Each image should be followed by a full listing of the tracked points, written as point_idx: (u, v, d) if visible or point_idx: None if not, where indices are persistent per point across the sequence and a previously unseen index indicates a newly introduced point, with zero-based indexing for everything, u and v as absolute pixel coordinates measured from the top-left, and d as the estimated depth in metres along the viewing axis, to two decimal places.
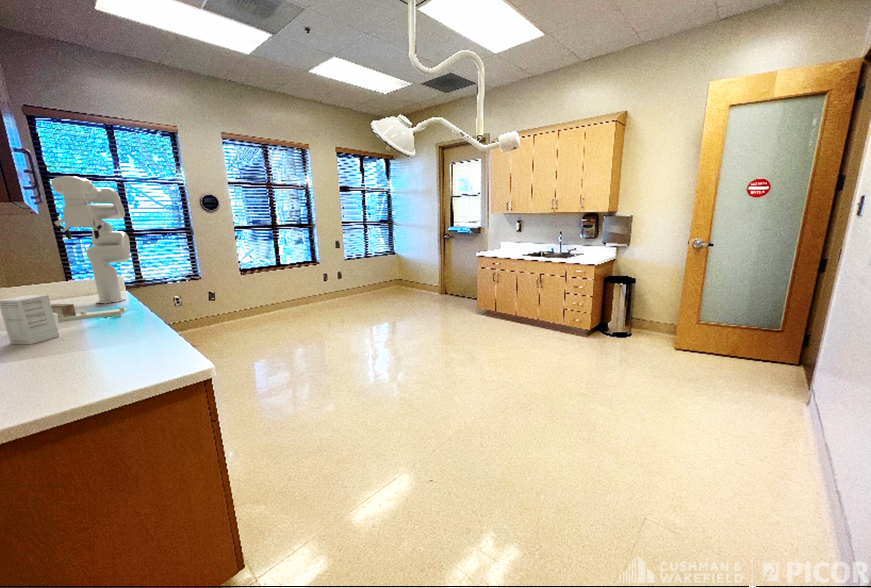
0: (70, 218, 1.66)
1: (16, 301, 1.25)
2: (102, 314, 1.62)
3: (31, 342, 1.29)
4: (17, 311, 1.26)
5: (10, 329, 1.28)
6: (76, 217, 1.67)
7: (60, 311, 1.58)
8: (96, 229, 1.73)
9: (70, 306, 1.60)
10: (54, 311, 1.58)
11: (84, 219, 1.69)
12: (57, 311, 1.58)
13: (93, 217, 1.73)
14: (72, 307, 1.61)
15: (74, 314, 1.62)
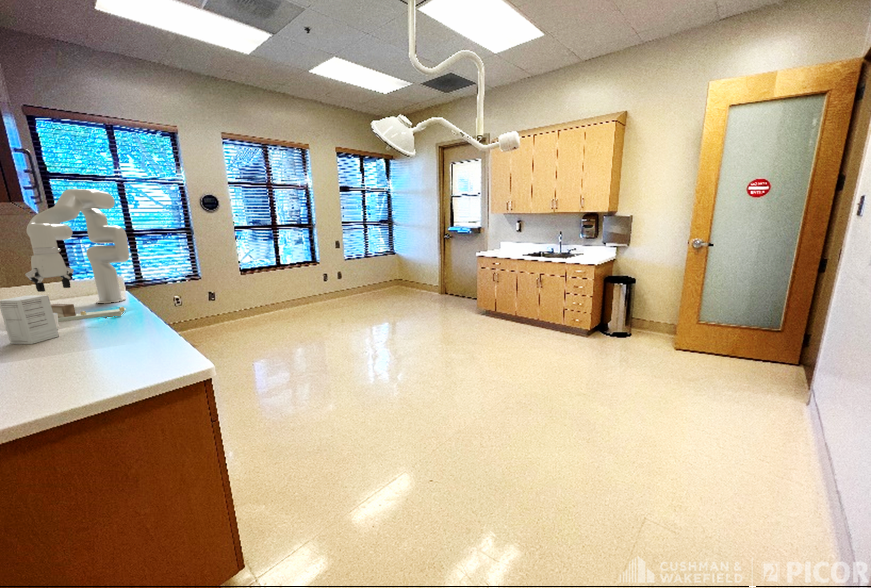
0: (47, 268, 1.53)
1: (16, 301, 1.25)
2: (102, 314, 1.62)
3: (31, 342, 1.29)
4: (17, 311, 1.26)
5: (10, 329, 1.28)
6: (52, 267, 1.55)
7: (60, 311, 1.58)
8: (68, 278, 1.62)
9: (70, 306, 1.60)
10: (54, 311, 1.58)
11: (60, 268, 1.58)
12: (57, 311, 1.58)
13: None
14: (72, 307, 1.61)
15: (74, 314, 1.62)
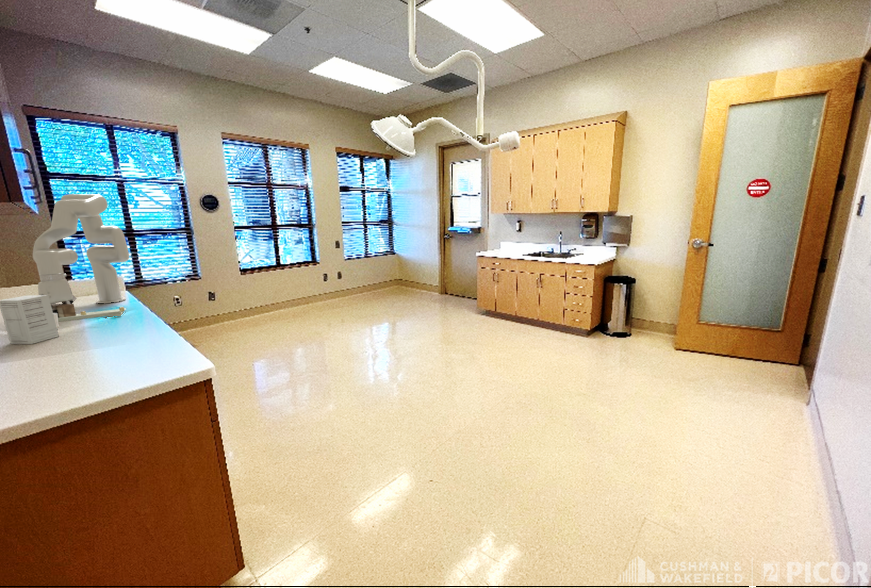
0: (53, 294, 1.56)
1: (16, 301, 1.25)
2: (102, 314, 1.62)
3: (31, 342, 1.29)
4: (17, 311, 1.26)
5: (10, 329, 1.28)
6: (59, 292, 1.58)
7: (60, 311, 1.58)
8: None
9: (70, 306, 1.60)
10: None
11: (66, 293, 1.61)
12: None
13: None
14: (72, 307, 1.61)
15: (74, 314, 1.62)
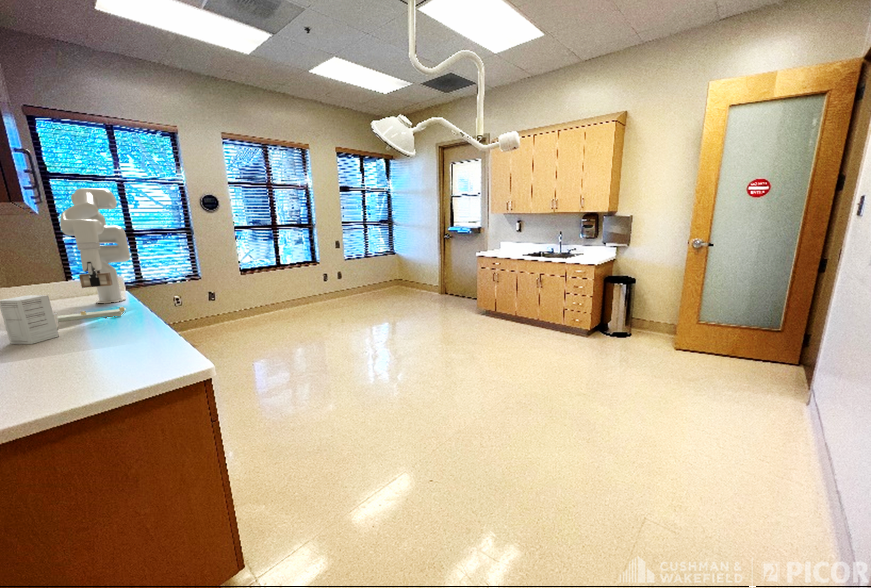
0: (97, 262, 1.62)
1: (16, 301, 1.25)
2: (102, 314, 1.62)
3: (31, 342, 1.29)
4: (17, 311, 1.26)
5: (10, 329, 1.28)
6: (98, 260, 1.63)
7: (102, 279, 1.64)
8: None
9: (109, 274, 1.67)
10: None
11: (100, 262, 1.66)
12: None
13: None
14: (110, 275, 1.68)
15: (111, 282, 1.69)
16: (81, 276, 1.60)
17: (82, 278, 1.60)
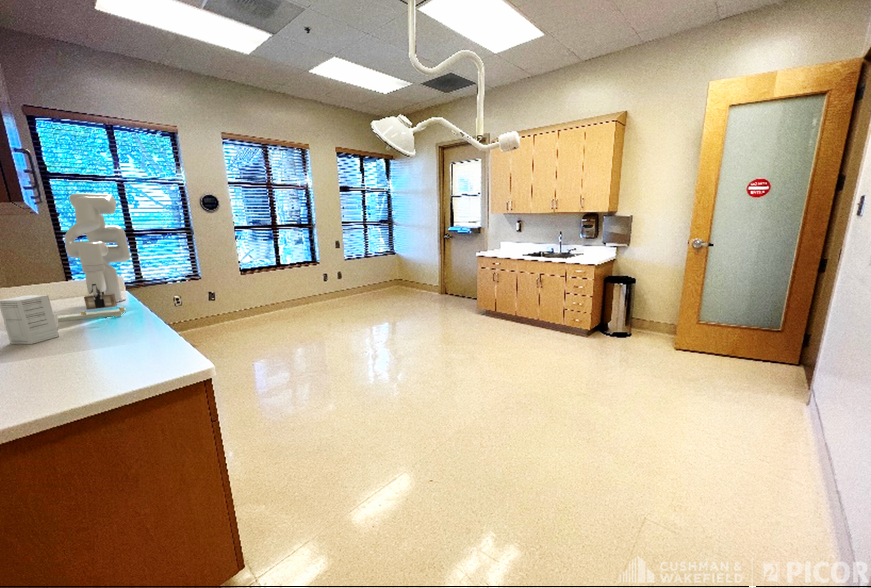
0: (102, 284, 1.64)
1: (16, 301, 1.25)
2: (102, 314, 1.62)
3: (31, 342, 1.29)
4: (17, 311, 1.26)
5: (10, 329, 1.28)
6: (103, 282, 1.65)
7: (107, 300, 1.66)
8: None
9: (114, 295, 1.69)
10: None
11: (104, 283, 1.68)
12: None
13: None
14: (114, 296, 1.70)
15: None
16: (86, 298, 1.62)
17: (87, 300, 1.62)
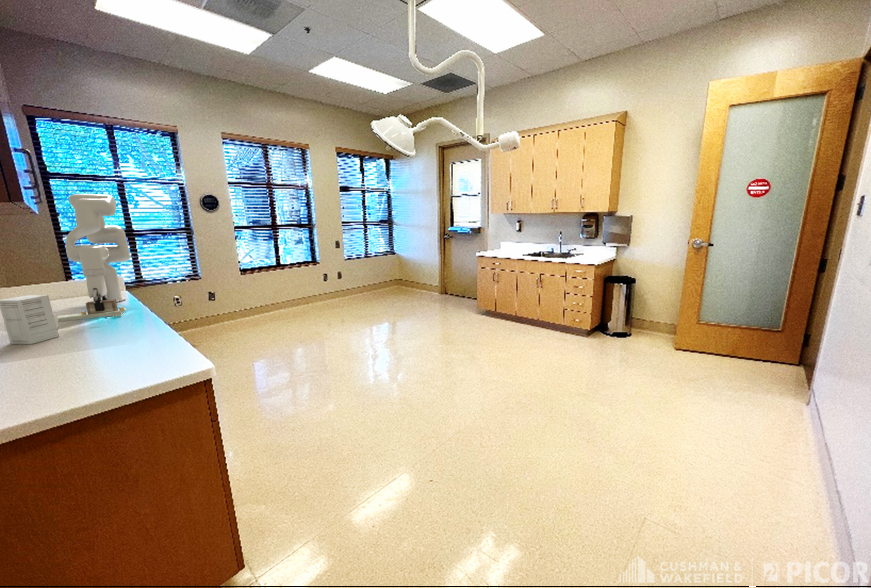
0: (103, 288, 1.64)
1: (16, 301, 1.25)
2: (102, 314, 1.62)
3: (31, 342, 1.29)
4: (17, 311, 1.26)
5: (10, 329, 1.28)
6: (104, 286, 1.66)
7: (108, 306, 1.67)
8: (106, 298, 1.71)
9: (115, 301, 1.70)
10: None
11: (105, 287, 1.68)
12: (104, 306, 1.66)
13: None
14: None
15: (117, 308, 1.71)
16: (88, 304, 1.63)
17: (88, 306, 1.63)
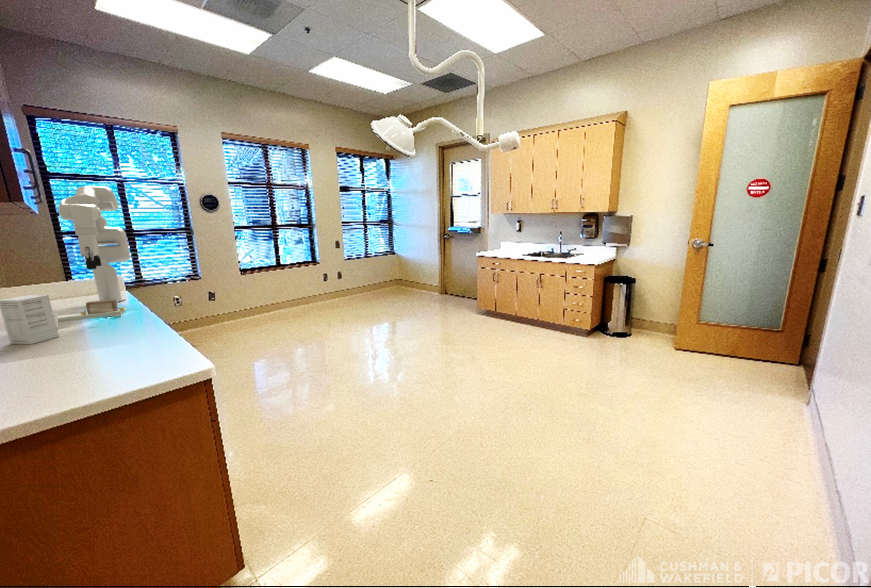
0: (95, 247, 1.65)
1: (16, 301, 1.25)
2: (102, 314, 1.62)
3: (31, 342, 1.29)
4: (17, 311, 1.26)
5: (10, 329, 1.28)
6: (96, 245, 1.67)
7: (108, 306, 1.67)
8: (98, 256, 1.72)
9: (115, 301, 1.70)
10: (100, 307, 1.65)
11: (97, 247, 1.69)
12: (104, 306, 1.66)
13: None
14: None
15: (117, 308, 1.71)
16: (88, 304, 1.63)
17: (88, 306, 1.63)
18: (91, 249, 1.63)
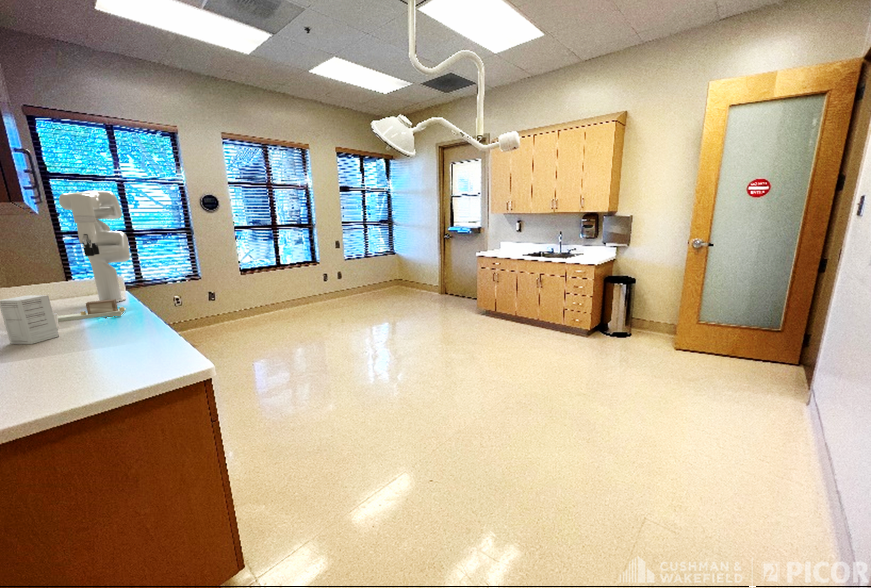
0: (93, 235, 1.70)
1: (16, 301, 1.25)
2: (102, 314, 1.62)
3: (31, 342, 1.29)
4: (17, 311, 1.26)
5: (10, 329, 1.28)
6: (94, 234, 1.72)
7: (108, 306, 1.67)
8: (96, 245, 1.77)
9: (115, 301, 1.70)
10: (100, 307, 1.65)
11: (96, 235, 1.74)
12: (104, 306, 1.66)
13: None
14: None
15: (117, 308, 1.71)
16: (88, 304, 1.63)
17: (88, 306, 1.63)
18: (89, 236, 1.68)
